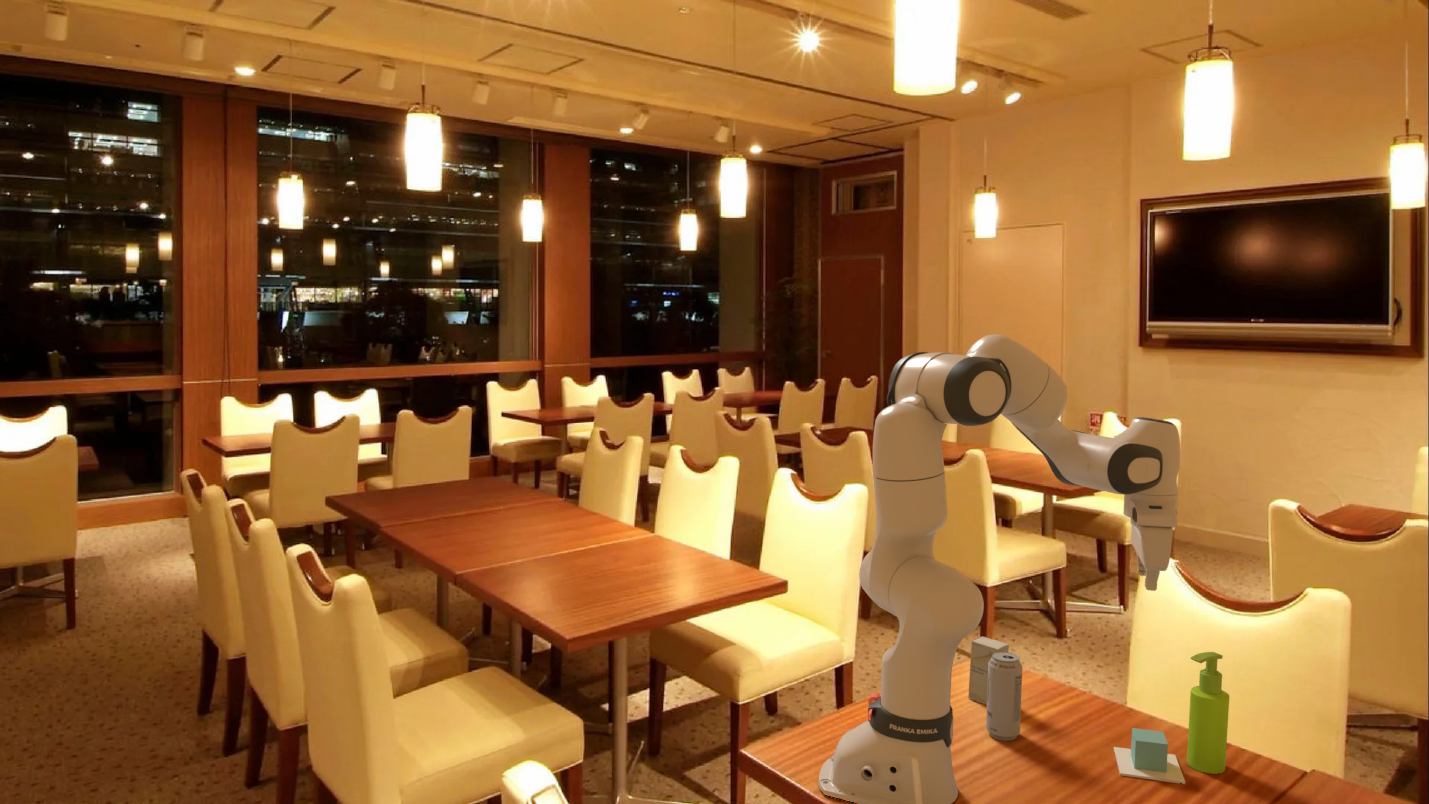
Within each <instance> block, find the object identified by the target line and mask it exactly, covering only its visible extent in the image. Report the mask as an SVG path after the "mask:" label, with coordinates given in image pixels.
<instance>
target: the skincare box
mask: <svg viewBox="0 0 1429 804" xmlns="http://www.w3.org/2000/svg"><path fill="white" fill-rule="evenodd" d="M970 647H971V648H970V665H969V678H968V679H969V681H968V682H969V683H968V696H967V697H968V699H970V700H972V701H975V702H978V703H980V704H983V705H985V706H987V686H988V663H989V661H990V659H991V658H992V654H993V653H995V652H1009V647H1010V644H1009V643H1006V642H1002V641H999V640H997V639H993V638H989V637H986V636H984V635H983V636H982V635H981V636H979V637H977V638H974V639H973V640H971V646H970Z"/></svg>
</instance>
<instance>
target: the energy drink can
mask: <svg viewBox="0 0 1429 804" xmlns="http://www.w3.org/2000/svg"><path fill="white" fill-rule="evenodd" d="M1022 688H1023V664H1022V663H1021V661H1020V656H1019V655H1018V654H1016V653H1012V652H1009V651H1008V652H995V653H993V654H992V658H991V659H990V661H989V663H988V686H987V705H986V720H985V722H986V724H985V726H986V727H985V729H986V730H987V732H988V734H989V736H990V737H991V738H993V739H996V740H998V741H1004V742H1007V741H1010V742H1011V741H1015V740H1016V739H1017V736H1019V735H1020V733H1021V721H1022V720H1021V719H1022V717H1021V716H1022V715H1021V713H1022Z"/></svg>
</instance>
